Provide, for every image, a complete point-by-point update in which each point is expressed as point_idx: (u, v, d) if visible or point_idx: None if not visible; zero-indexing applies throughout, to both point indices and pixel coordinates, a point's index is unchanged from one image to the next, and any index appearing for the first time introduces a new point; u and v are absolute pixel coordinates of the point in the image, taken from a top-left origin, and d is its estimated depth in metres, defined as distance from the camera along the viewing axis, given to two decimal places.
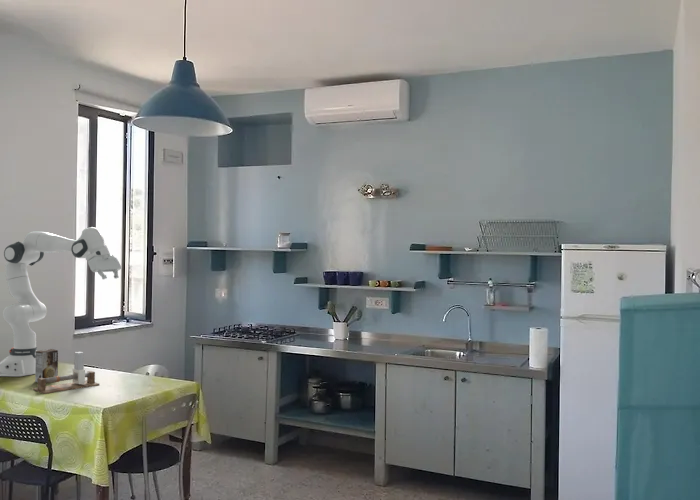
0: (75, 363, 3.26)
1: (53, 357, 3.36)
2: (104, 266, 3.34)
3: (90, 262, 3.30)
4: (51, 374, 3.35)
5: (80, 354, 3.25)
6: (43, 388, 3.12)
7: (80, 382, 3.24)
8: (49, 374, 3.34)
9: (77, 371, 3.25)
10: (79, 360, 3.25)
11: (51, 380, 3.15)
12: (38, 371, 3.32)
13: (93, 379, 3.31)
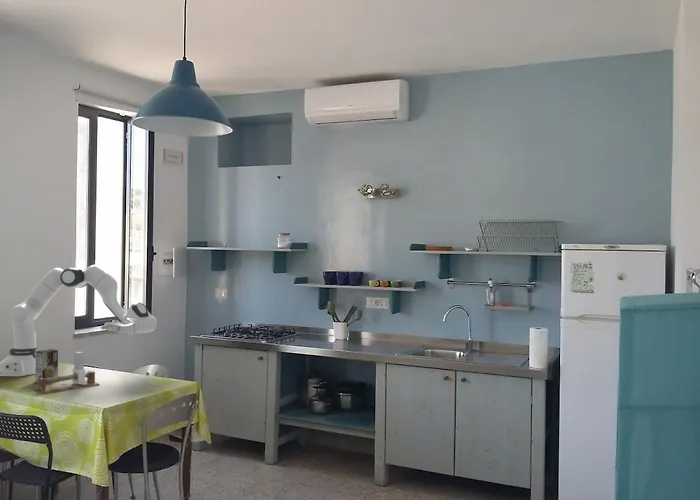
0: (75, 363, 3.26)
1: (53, 357, 3.36)
2: None
3: (132, 327, 3.38)
4: (51, 374, 3.35)
5: (80, 354, 3.25)
6: (43, 388, 3.12)
7: (80, 382, 3.24)
8: (49, 374, 3.34)
9: (77, 371, 3.25)
10: (79, 360, 3.25)
11: (51, 380, 3.15)
12: (38, 371, 3.32)
13: (93, 379, 3.31)
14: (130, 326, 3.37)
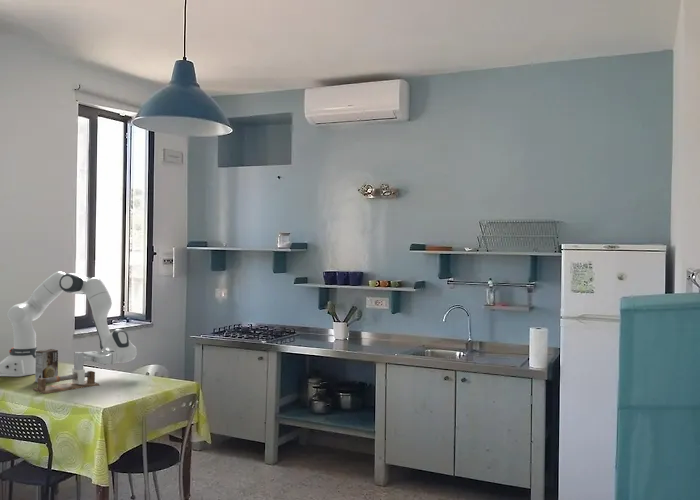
0: (74, 363, 3.26)
1: (53, 357, 3.36)
2: None
3: (109, 358, 3.29)
4: (51, 374, 3.35)
5: (80, 354, 3.25)
6: (43, 388, 3.12)
7: (80, 382, 3.24)
8: (49, 374, 3.34)
9: (77, 371, 3.24)
10: (79, 360, 3.25)
11: (51, 380, 3.15)
12: (38, 371, 3.32)
13: (93, 379, 3.31)
14: (108, 357, 3.28)
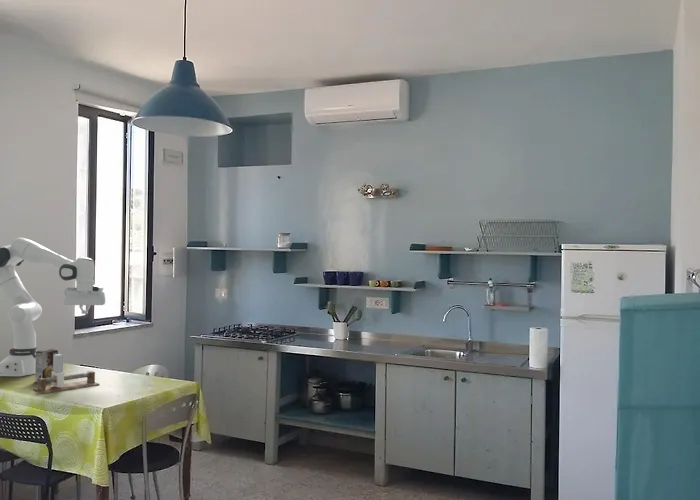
0: (53, 366, 3.18)
1: None
2: None
3: (103, 294, 3.43)
4: (51, 374, 3.35)
5: (59, 356, 3.17)
6: (43, 388, 3.12)
7: (59, 385, 3.16)
8: (49, 374, 3.34)
9: (56, 374, 3.16)
10: (58, 363, 3.17)
11: (51, 380, 3.15)
12: (38, 371, 3.32)
13: (93, 379, 3.31)
14: (103, 296, 3.42)
